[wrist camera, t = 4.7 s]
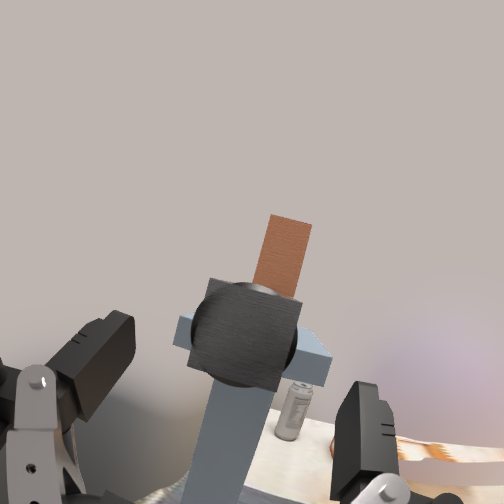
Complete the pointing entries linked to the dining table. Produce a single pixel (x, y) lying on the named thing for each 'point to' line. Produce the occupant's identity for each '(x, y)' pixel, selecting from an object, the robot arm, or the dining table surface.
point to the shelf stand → (239, 422)
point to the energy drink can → (294, 410)
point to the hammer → (253, 315)
